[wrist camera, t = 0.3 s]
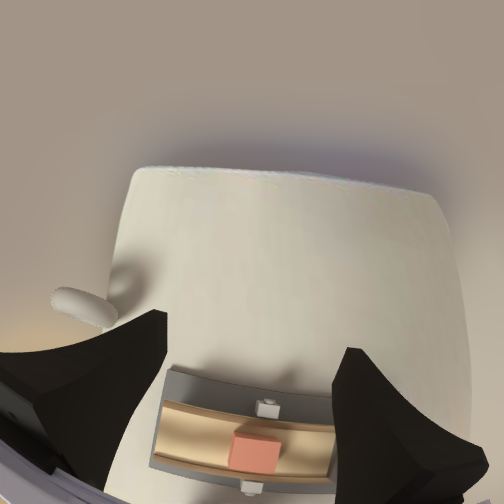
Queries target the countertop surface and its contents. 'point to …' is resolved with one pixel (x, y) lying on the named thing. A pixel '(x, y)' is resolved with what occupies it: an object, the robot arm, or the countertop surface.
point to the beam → (223, 424)
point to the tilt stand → (249, 405)
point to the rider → (253, 453)
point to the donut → (84, 307)
